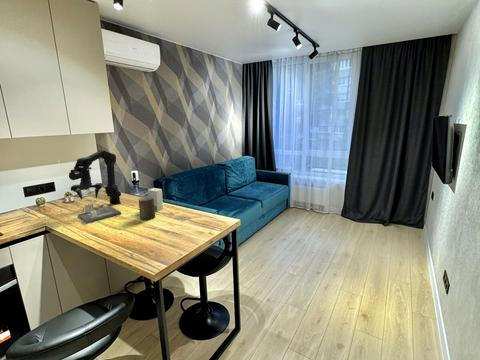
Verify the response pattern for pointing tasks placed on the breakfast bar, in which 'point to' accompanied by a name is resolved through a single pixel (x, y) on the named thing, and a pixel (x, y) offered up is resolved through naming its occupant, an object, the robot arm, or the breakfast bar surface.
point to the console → (99, 215)
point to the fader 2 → (105, 207)
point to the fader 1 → (93, 214)
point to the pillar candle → (146, 208)
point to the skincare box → (156, 198)
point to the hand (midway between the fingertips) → (89, 198)
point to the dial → (89, 208)
